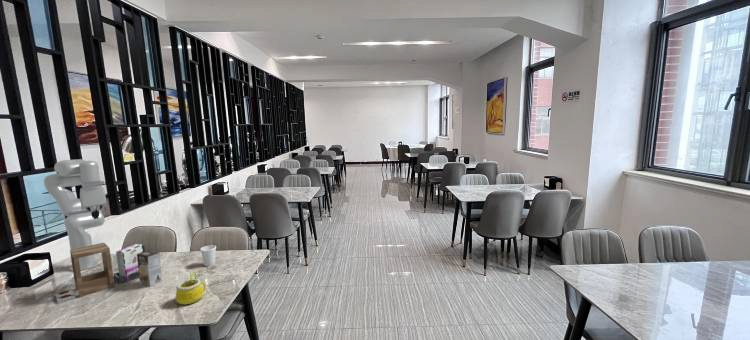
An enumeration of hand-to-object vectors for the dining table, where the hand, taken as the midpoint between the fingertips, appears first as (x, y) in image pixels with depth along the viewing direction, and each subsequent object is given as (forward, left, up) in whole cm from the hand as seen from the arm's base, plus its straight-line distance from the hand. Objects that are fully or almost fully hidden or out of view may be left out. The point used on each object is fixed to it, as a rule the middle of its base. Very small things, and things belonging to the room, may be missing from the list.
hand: (96, 218), depth 174 cm
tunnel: (+17, -6, -32) cm, 37 cm away
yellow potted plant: (+69, +21, -32) cm, 79 cm away
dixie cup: (+33, +43, -32) cm, 63 cm away
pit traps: (+17, -17, -32) cm, 40 cm away
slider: (+12, +11, -32) cm, 35 cm away
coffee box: (+33, +14, -32) cm, 48 cm away
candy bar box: (+17, +10, -32) cm, 38 cm away
